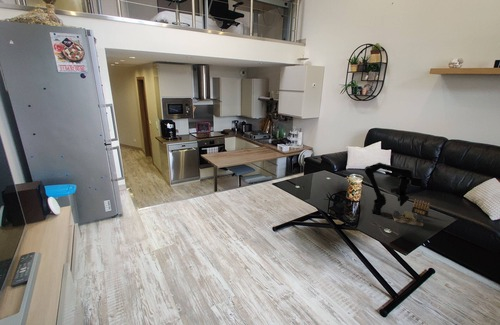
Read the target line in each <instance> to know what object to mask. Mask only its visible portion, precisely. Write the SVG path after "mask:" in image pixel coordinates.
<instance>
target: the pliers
mask: <svg viewBox="0 0 500 325" xmlns="http://www.w3.org/2000/svg"><path fill="white" fill-rule="evenodd" d="M369 224H371V225H372V226H374V227H376V228H377V229H378V230H380V233H382V234H383V235H384V236H386V237H387V238H390V236H388V235H387V234H385V233H384V232H383V230H385V231H390V232H392V233H394V234H395V235H396V236H399V233H398V232H395V231H393V230H391V229H388V228H385V227H383V226H382V225H380V224H379V223H377V222H376V221H372V222H371V221H370V222H369ZM382 229H383V230H382Z"/></svg>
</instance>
